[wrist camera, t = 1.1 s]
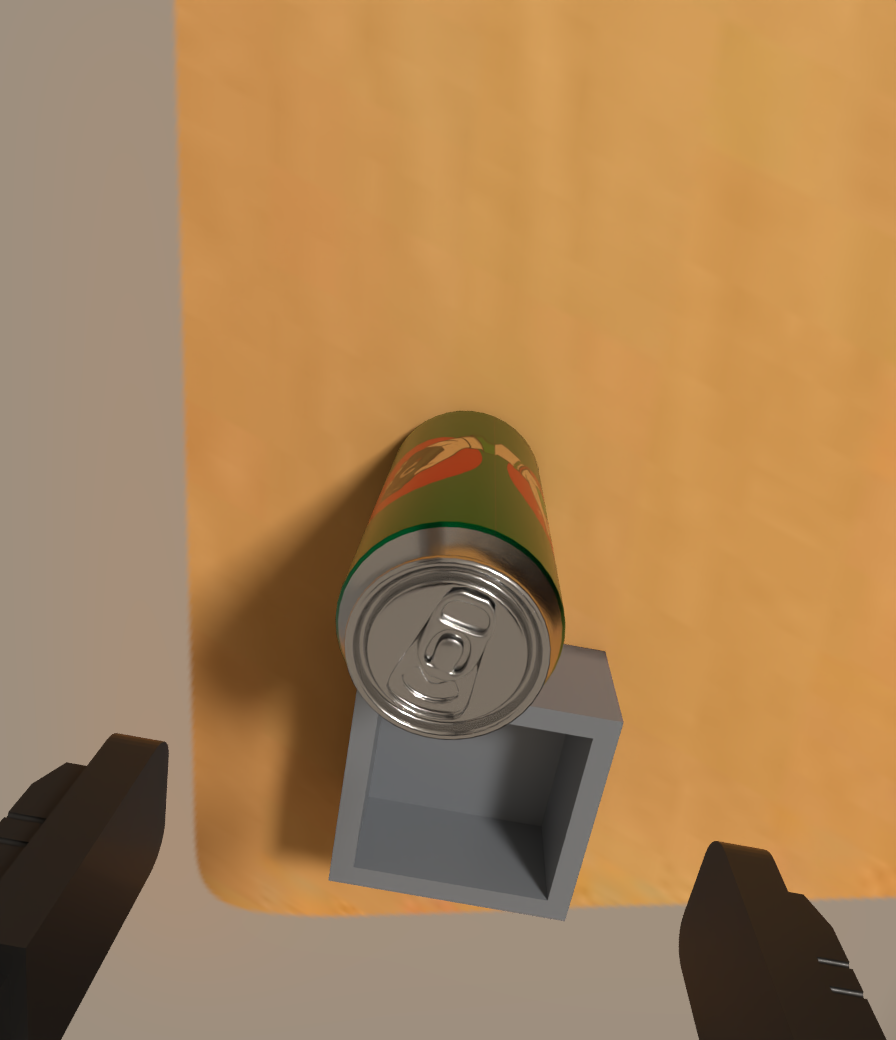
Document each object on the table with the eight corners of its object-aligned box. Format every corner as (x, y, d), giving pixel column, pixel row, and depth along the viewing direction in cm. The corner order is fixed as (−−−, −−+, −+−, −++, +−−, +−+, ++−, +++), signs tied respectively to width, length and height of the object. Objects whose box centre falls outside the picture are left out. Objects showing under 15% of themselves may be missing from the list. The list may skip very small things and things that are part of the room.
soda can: (372, 513, 28) (293, 706, 17) (425, 383, 27) (376, 502, 15) (502, 566, 29) (509, 787, 18) (563, 441, 27) (613, 598, 16)
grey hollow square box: (378, 611, 30) (358, 676, 26) (605, 651, 30) (623, 722, 26) (349, 795, 33) (328, 880, 29) (555, 831, 33) (564, 920, 29)
